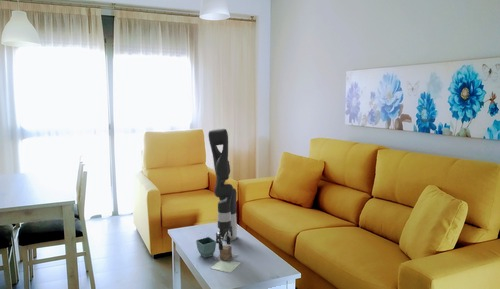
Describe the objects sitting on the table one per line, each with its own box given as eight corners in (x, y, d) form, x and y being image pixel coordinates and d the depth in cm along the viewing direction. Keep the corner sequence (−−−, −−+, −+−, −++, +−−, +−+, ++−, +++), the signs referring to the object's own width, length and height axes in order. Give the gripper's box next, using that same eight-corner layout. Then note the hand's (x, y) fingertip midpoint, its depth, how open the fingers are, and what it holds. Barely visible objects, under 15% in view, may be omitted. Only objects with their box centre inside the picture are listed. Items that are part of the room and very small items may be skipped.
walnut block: (224, 254, 219) (224, 244, 218) (231, 256, 217) (231, 246, 216) (219, 258, 214) (219, 248, 214) (227, 259, 212) (227, 249, 211)
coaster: (221, 259, 213) (221, 259, 213) (240, 263, 208) (240, 263, 208) (210, 268, 203) (210, 268, 203) (230, 273, 197) (230, 272, 197)
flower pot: (203, 260, 213) (203, 245, 212) (196, 254, 220) (195, 240, 219) (216, 256, 218) (216, 241, 217) (209, 251, 225) (208, 236, 224)
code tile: (222, 252, 222) (222, 252, 222) (237, 255, 218) (237, 255, 218) (213, 259, 213) (213, 259, 213) (229, 263, 209) (229, 262, 209)
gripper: (224, 214, 220) (225, 241, 222) (211, 222, 208) (212, 250, 210) (236, 216, 217) (236, 243, 219) (223, 224, 204) (224, 252, 206)
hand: (224, 246), depth 214 cm, fingers open, 8 cm apart
